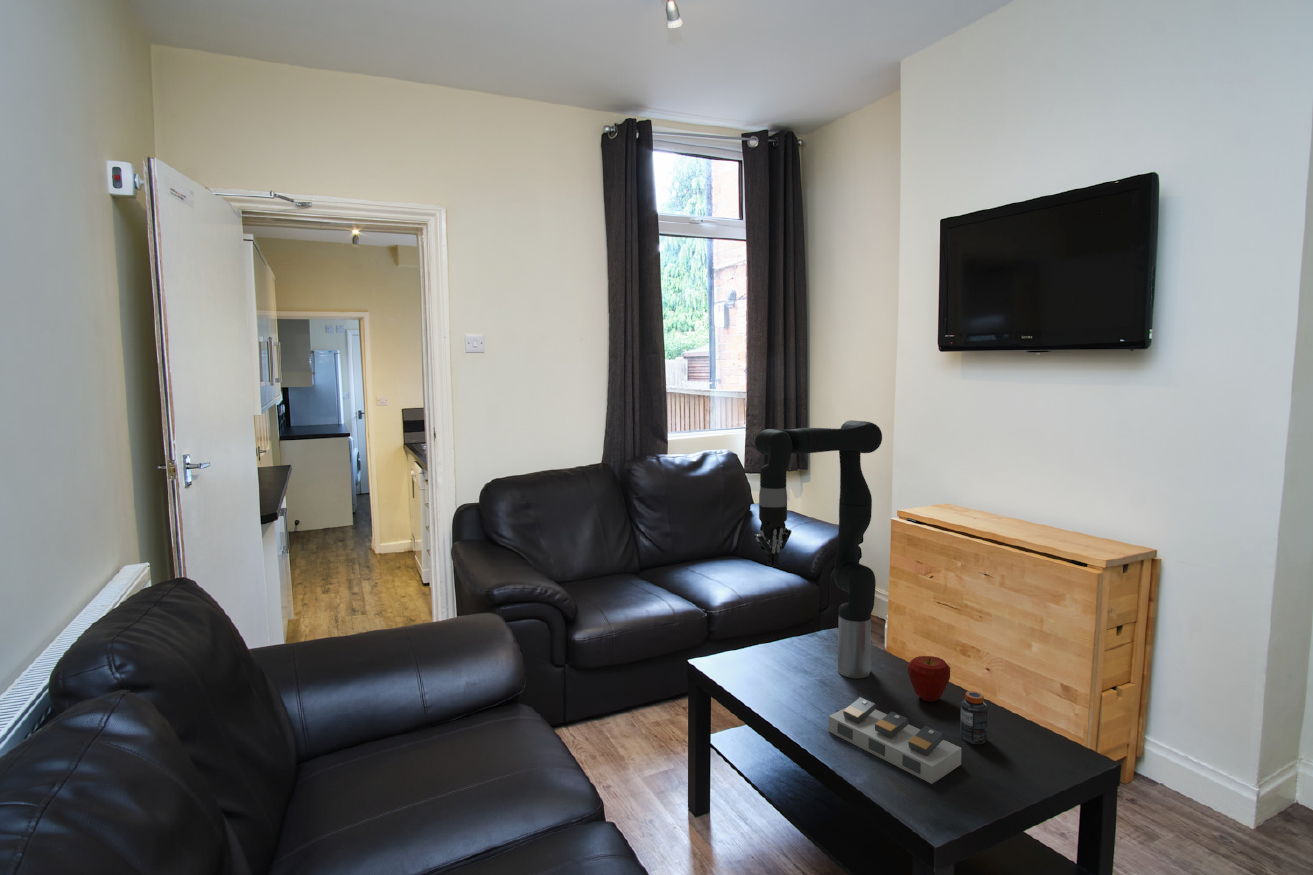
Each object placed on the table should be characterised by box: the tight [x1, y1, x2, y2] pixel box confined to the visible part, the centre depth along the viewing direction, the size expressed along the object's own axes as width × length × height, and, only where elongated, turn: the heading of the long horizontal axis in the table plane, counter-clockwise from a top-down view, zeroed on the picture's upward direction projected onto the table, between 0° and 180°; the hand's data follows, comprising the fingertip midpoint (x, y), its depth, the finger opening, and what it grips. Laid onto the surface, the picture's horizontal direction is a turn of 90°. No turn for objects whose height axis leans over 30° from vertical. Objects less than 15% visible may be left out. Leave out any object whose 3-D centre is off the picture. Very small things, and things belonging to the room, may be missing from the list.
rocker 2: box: [875, 711, 909, 738], centre depth 163 cm, size 7×4×2 cm, turn 127°
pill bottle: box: [959, 690, 989, 745], centre depth 166 cm, size 6×6×11 cm
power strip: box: [828, 707, 962, 785], centre depth 164 cm, size 12×30×4 cm, turn 37°
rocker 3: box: [908, 725, 944, 756], centre depth 156 cm, size 7×4×2 cm, turn 127°
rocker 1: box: [843, 696, 877, 724], centre depth 170 cm, size 7×4×2 cm, turn 127°
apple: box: [907, 655, 951, 703], centre depth 187 cm, size 11×11×12 cm
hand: (772, 565), depth 187 cm, fingers closed
